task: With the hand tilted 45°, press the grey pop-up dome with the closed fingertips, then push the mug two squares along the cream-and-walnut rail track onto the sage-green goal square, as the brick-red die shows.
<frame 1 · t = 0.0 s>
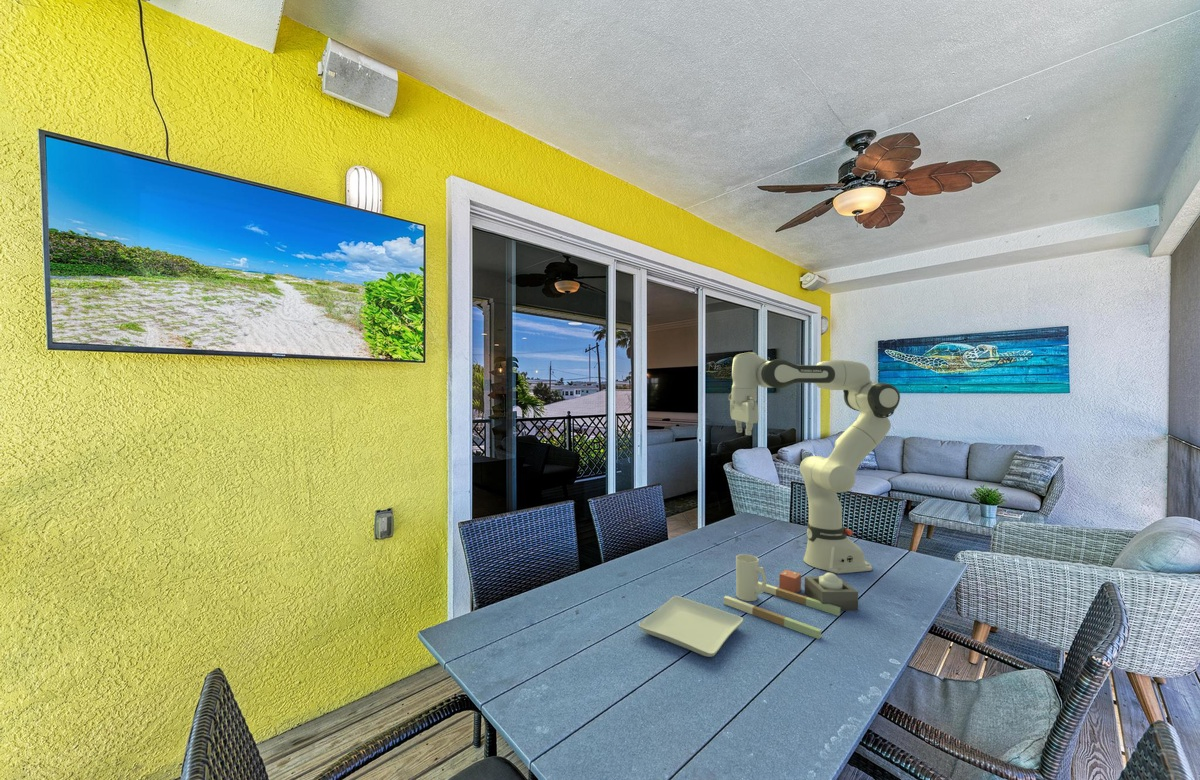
hand: (743, 433, 165), 48 cm above the table, tool pointing down, fingers open, 8 cm apart
mug: (751, 599, 138), on the table
pop dome: (830, 580, 136), point 7 cm above the table, slide at 0.0 cm
salad plate: (691, 633, 119), on the table
die: (790, 589, 145), on the table
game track: (780, 608, 132), on the table
dome housing: (830, 602, 136), on the table
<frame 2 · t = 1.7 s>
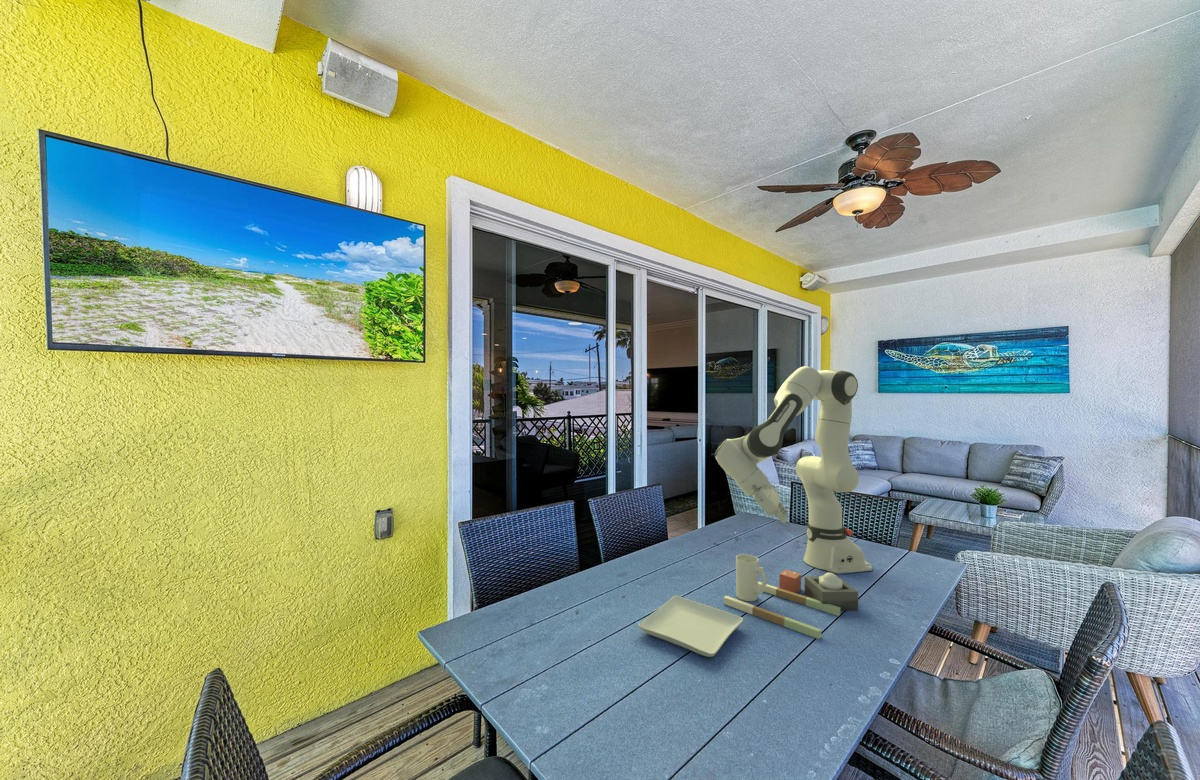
hand: (786, 517, 141), 24 cm above the table, tool tilted 45°, fingers open, 8 cm apart
nothing on the table moved.
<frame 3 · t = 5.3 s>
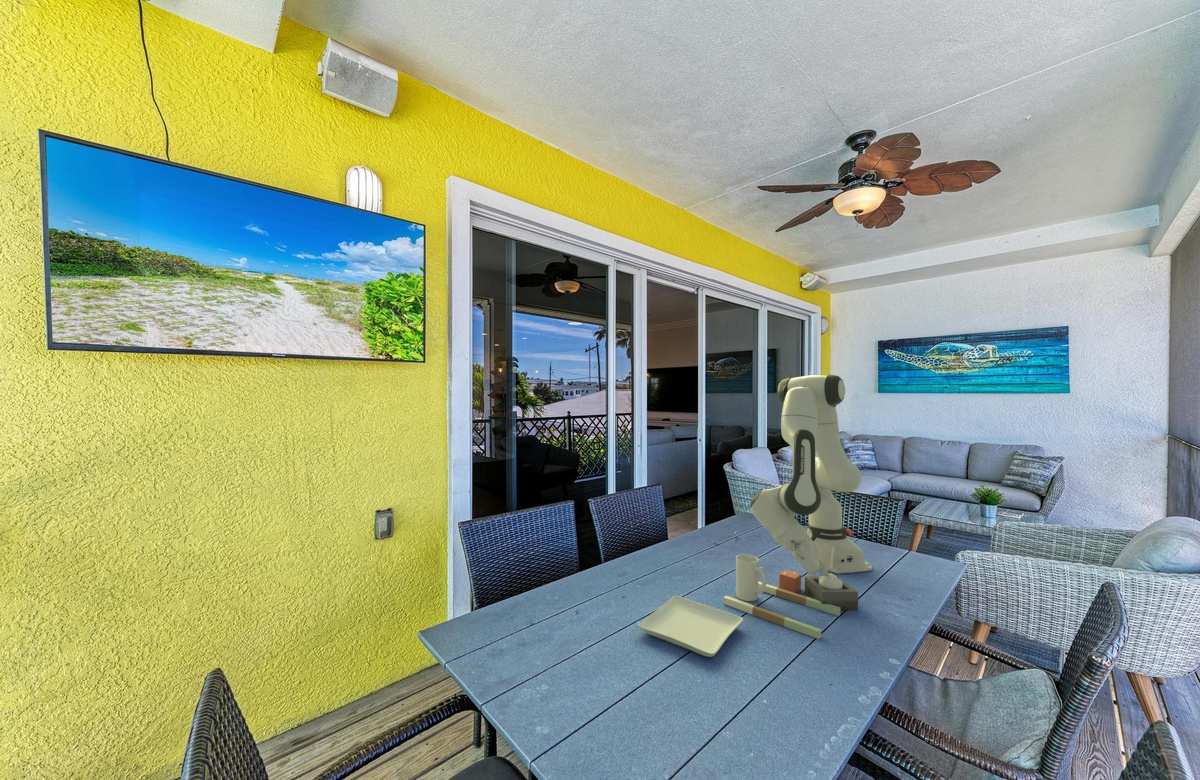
hand: (826, 573, 137), 8 cm above the table, tool tilted 45°, fingers closed, pressing on pop dome
pop dome: (830, 581, 136), point 6 cm above the table, slide at 0.2 cm, touching gripper
everything else where it was.
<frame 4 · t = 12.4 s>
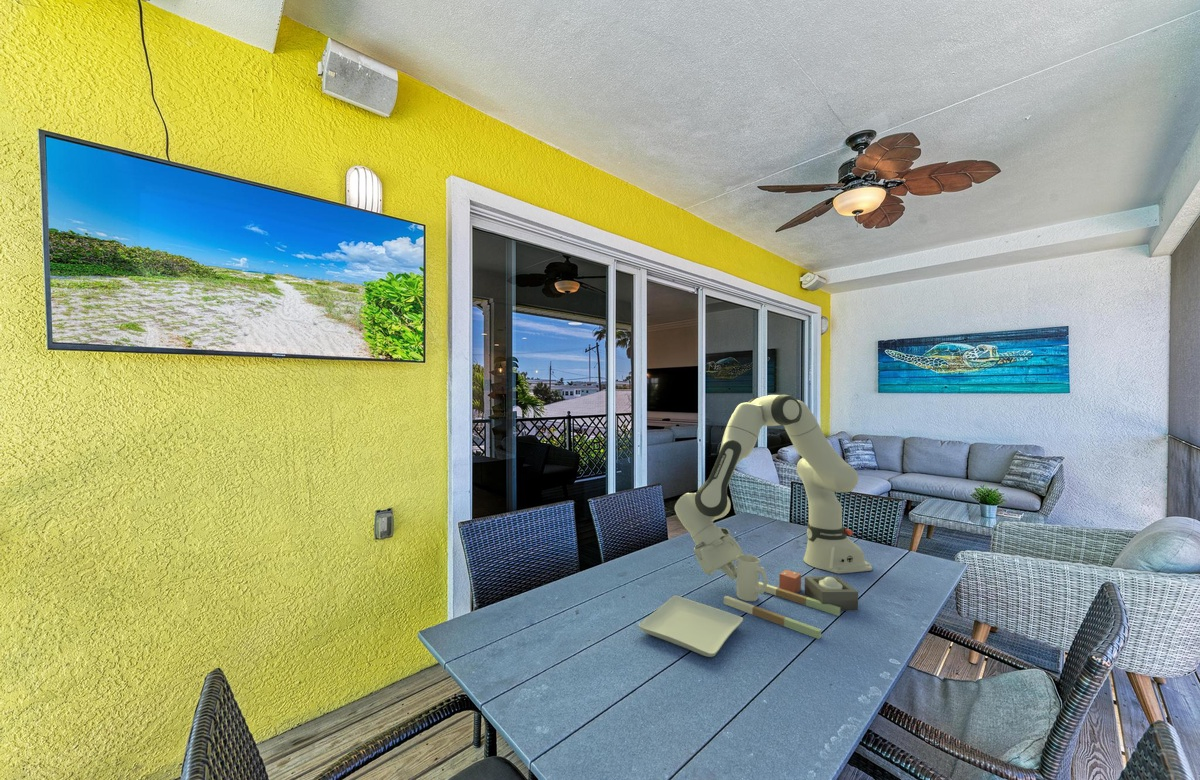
hand: (735, 578, 141), 5 cm above the table, tool tilted 45°, fingers closed
mug: (751, 599, 138), on the table, touching gripper
pop dome: (830, 584, 136), point 5 cm above the table, slide at 1.3 cm
everything else where it was.
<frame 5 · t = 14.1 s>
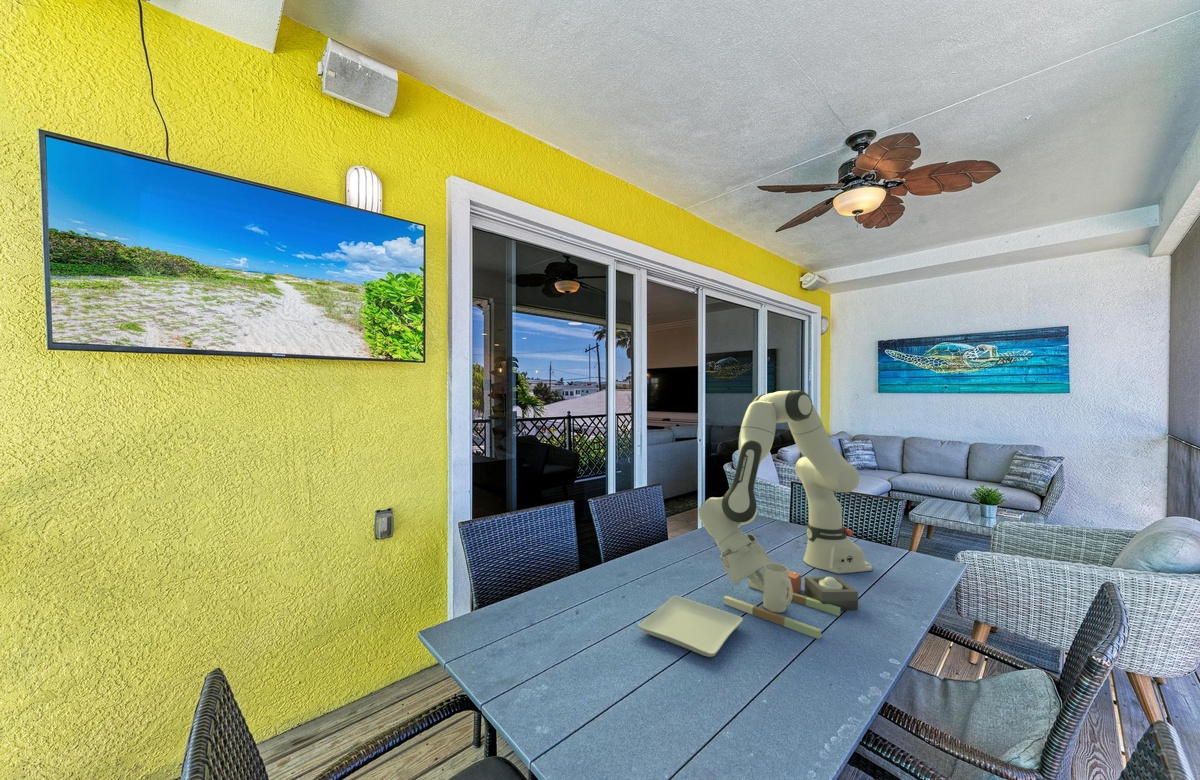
hand: (764, 587, 135), 5 cm above the table, tool tilted 45°, fingers closed, pressing on mug
mug: (778, 610, 131), on the table, touching gripper
everything else where it was.
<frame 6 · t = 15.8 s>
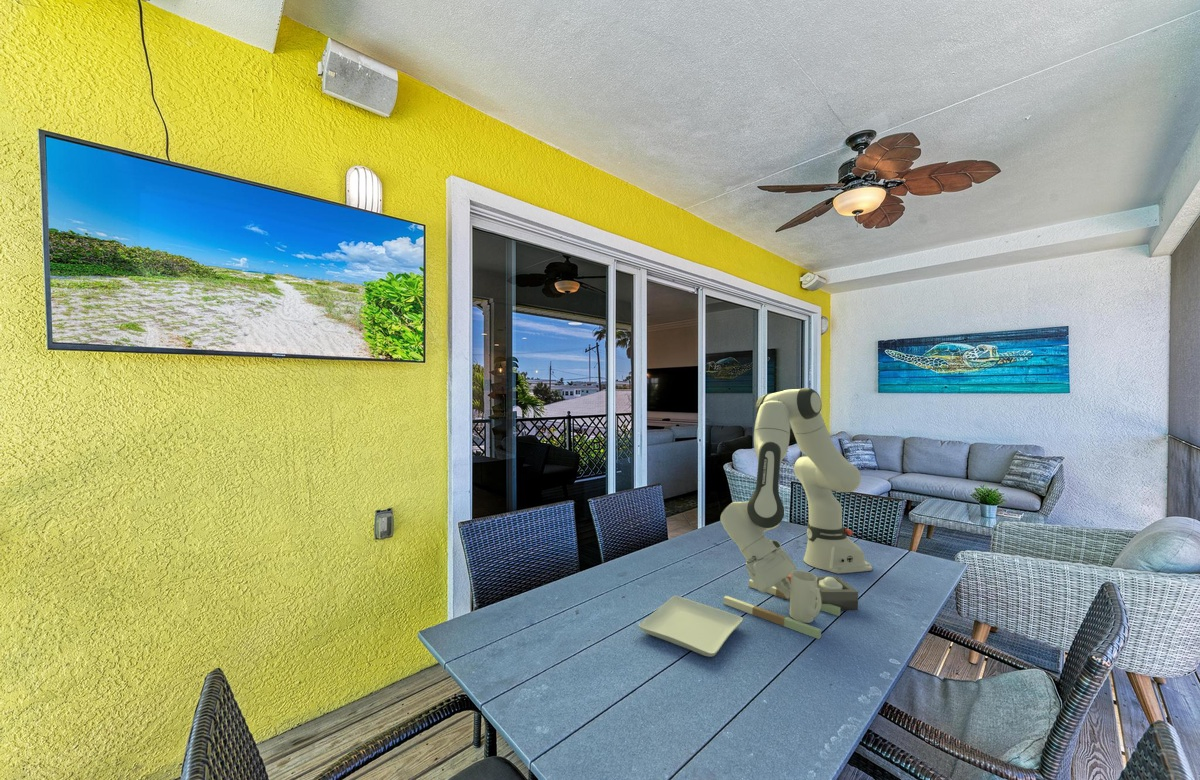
hand: (791, 596, 129), 5 cm above the table, tool tilted 45°, fingers closed, pressing on mug
mug: (805, 620, 125), on the table, touching gripper
everything else where it was.
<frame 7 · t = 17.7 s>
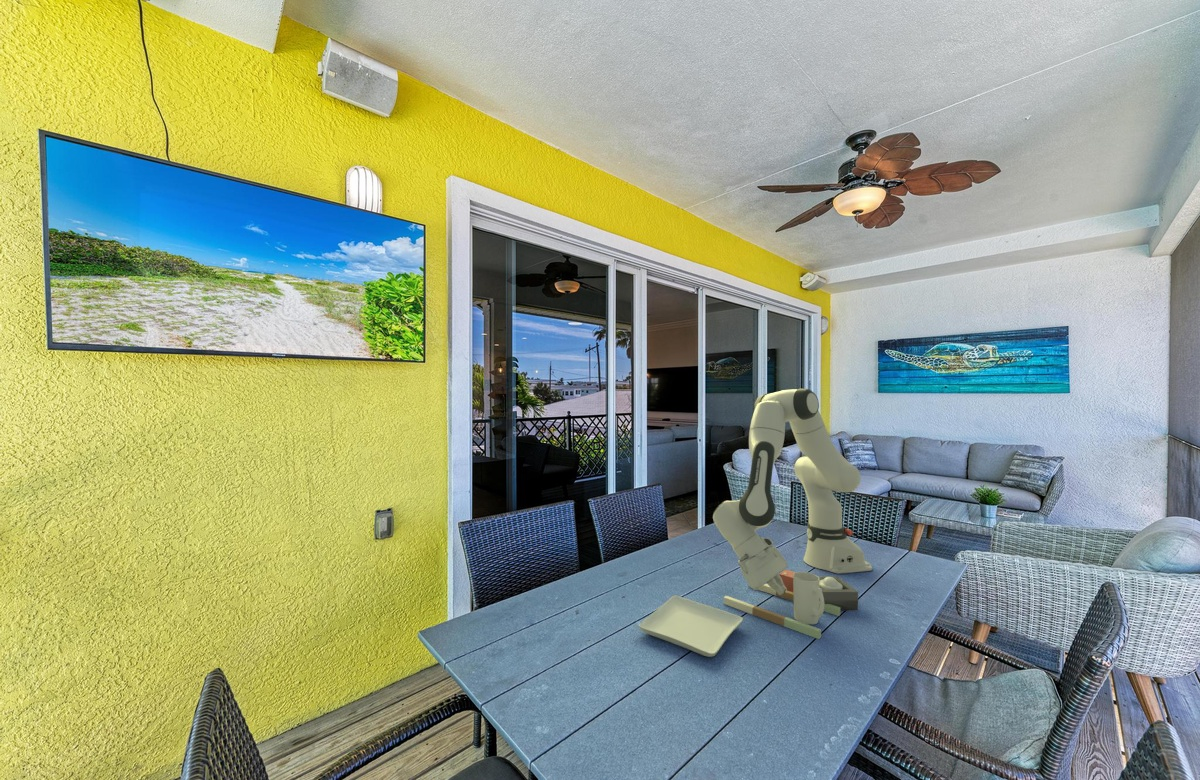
hand: (783, 592, 131), 5 cm above the table, tool tilted 45°, fingers closed
mug: (810, 622, 124), on the table
everything else where it was.
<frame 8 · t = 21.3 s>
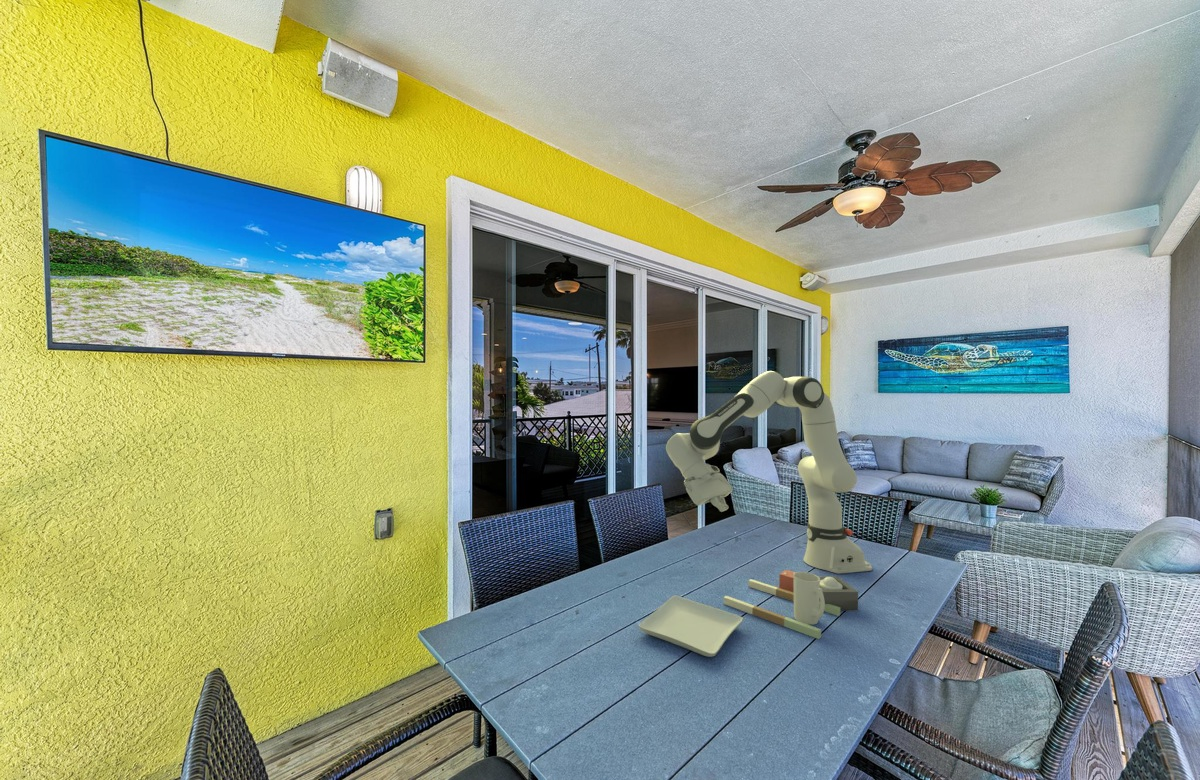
hand: (725, 510, 145), 25 cm above the table, tool tilted 45°, fingers closed
nothing on the table moved.
at the end: mug inside the target area (1.6 cm from its centre), on the table; mug tilted 0°; pop dome slide at 1.3 cm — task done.
